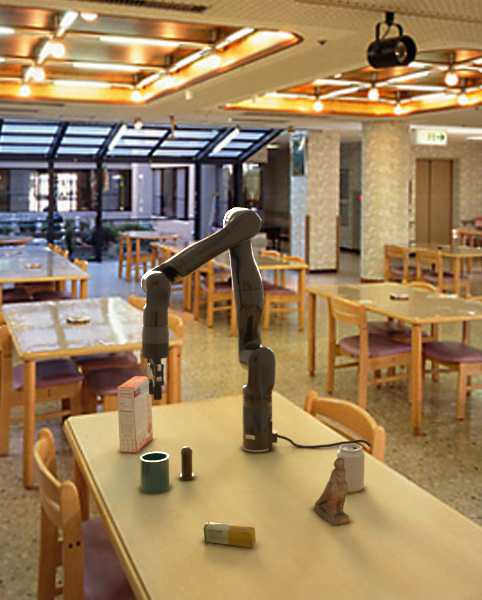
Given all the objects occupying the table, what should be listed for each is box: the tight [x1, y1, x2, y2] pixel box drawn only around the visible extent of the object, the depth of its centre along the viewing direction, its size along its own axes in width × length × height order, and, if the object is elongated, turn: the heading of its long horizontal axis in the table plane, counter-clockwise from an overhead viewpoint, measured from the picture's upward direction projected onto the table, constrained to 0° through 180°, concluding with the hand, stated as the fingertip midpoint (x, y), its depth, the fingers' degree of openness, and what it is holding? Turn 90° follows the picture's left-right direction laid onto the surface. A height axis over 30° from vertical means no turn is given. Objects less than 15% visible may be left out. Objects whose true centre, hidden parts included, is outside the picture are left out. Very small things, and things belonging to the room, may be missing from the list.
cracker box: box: [116, 375, 154, 454], centre depth 248 cm, size 14×6×21 cm, turn 172°
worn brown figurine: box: [313, 458, 350, 526], centre depth 197 cm, size 12×6×18 cm, turn 24°
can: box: [336, 443, 366, 494], centre depth 216 cm, size 8×8×12 cm
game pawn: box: [179, 446, 195, 482], centre depth 222 cm, size 4×4×9 cm
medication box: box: [203, 521, 257, 548], centre depth 183 cm, size 12×3×4 cm, turn 75°
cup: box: [139, 451, 171, 495], centre depth 214 cm, size 8×8×9 cm
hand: (155, 397), depth 227 cm, fingers open, 8 cm apart
